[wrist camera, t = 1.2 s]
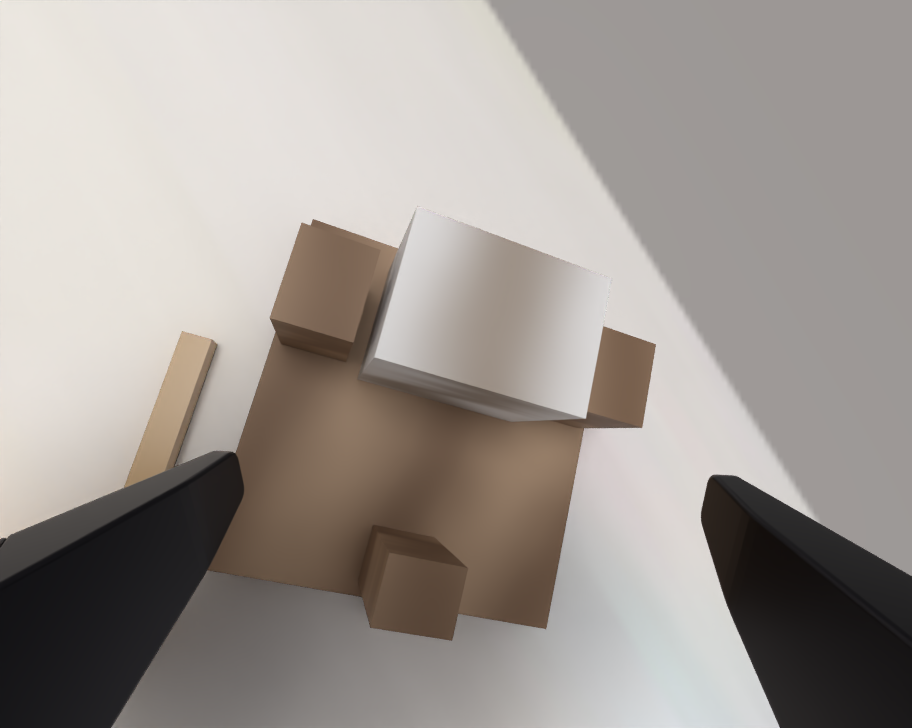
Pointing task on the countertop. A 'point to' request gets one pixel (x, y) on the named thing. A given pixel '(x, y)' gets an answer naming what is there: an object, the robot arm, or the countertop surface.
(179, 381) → the wooden c-shaped bracket
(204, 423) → the countertop surface
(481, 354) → the display stand
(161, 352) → the countertop surface
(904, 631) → the robot arm
